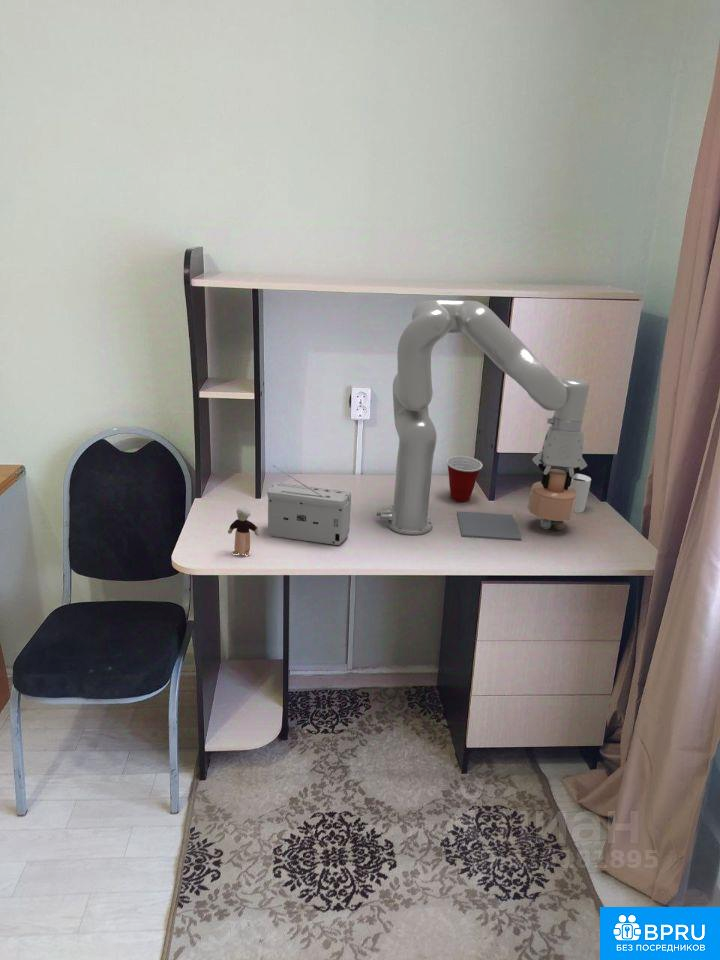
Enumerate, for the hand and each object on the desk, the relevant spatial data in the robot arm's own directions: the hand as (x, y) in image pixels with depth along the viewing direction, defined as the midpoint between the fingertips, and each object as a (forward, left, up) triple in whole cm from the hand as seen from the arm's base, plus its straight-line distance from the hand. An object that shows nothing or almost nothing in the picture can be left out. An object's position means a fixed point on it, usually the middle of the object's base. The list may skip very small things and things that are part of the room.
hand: (554, 486), depth 201 cm
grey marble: (-1, -1, -12) cm, 12 cm away
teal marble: (+1, +2, -12) cm, 13 cm away
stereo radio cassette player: (-66, -16, -13) cm, 69 cm away
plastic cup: (-23, +17, -13) cm, 31 cm away
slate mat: (-17, -2, -12) cm, 21 cm away
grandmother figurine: (-81, -28, -13) cm, 87 cm away
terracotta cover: (0, 0, -7) cm, 8 cm away
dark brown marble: (+3, -1, -12) cm, 13 cm away
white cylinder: (+11, +15, -13) cm, 22 cm away
